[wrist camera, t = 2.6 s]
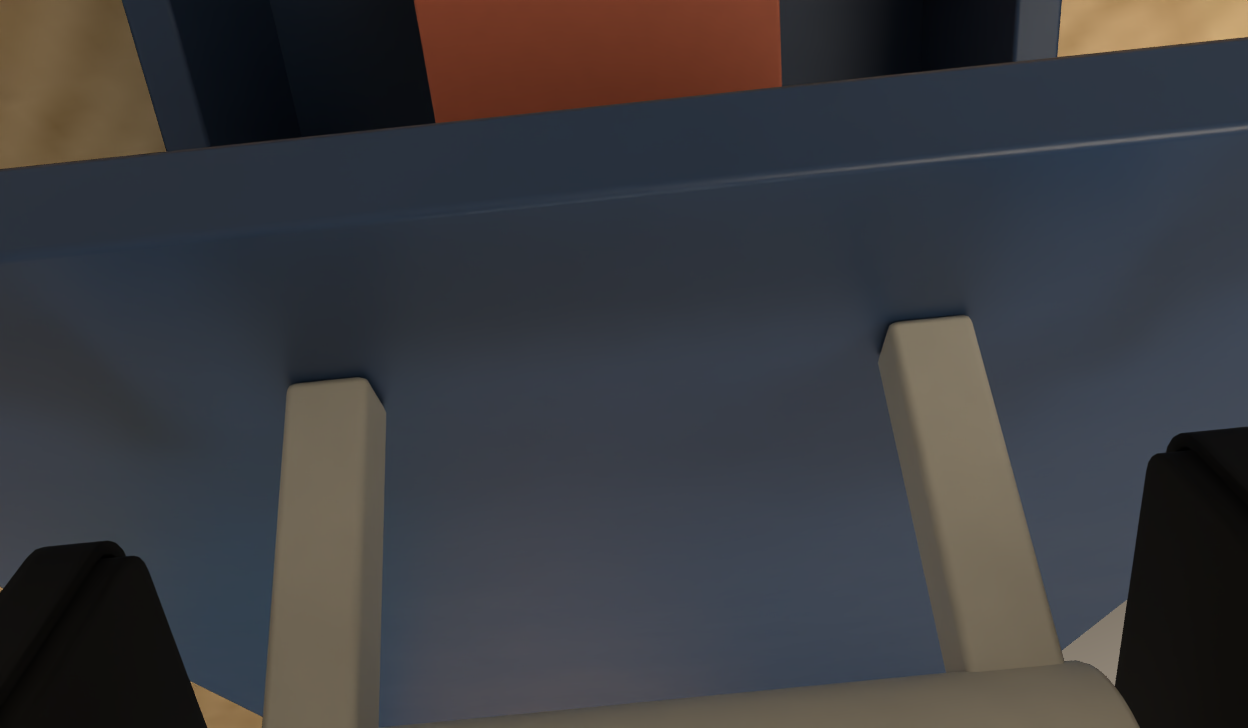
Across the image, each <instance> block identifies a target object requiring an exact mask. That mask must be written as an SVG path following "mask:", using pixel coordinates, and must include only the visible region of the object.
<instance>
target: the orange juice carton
mask: <svg viewBox="0 0 1248 728" xmlns="http://www.w3.org/2000/svg"><path fill="white" fill-rule="evenodd" d="M414 5H415V10H416V16H417V21H418V27H419V33H420V38H421V44H422V49H423V55H424V60H425V66H426V72H427V77H428V83H429V88H430V94H431V100H432V105H433V111H434V116H435V122H436V123H441V122H451V121H460V120H470V119H479V118H489V117H498V116H508V115H517V114H526V113H536V112H545V111H555V110H564V109H574V108H583V107H593V106H602V105H611V104H621V103H630V102H640V101H649V100H659V99H668V98H678V97H687V96H697V95H706V94H715V93H725V92H734V91H744V90H753V89H763V88H772V87H782V69H781V37H780V5H779V0H414Z"/></svg>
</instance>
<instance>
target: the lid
mask: <svg viewBox="0 0 1248 728" xmlns="http://www.w3.org/2000/svg"><path fill="white" fill-rule="evenodd" d="M1237 427H1248V37H1245V38H1235V39H1226V40H1216V41H1207V42H1197V43H1188V44H1178V45H1169V46H1160V47H1150V48H1141V49H1131V50H1122V51H1112V52H1103V53H1093V54H1084V55H1075V56H1065V57H1056V58H1046V59H1037V60H1027V61H1018V62H1008V63H999V64H989V65H980V66H971V67H961V68H952V69H942V70H933V71H923V72H914V73H904V74H895V75H886V76H876V77H867V78H857V79H848V80H838V81H829V82H819V83H810V84H800V85H791V86H782V87H772V88H763V89H753V90H744V91H734V92H725V93H715V94H706V95H697V96H687V97H678V98H668V99H659V100H649V101H640V102H630V103H621V104H611V105H602V106H593V107H583V108H574V109H564V110H555V111H545V112H536V113H526V114H517V115H508V116H498V117H489V118H479V119H470V120H460V121H451V122H441V123H432V124H422V125H413V126H404V127H394V128H385V129H375V130H366V131H356V132H347V133H337V134H328V135H319V136H309V137H300V138H290V139H281V140H271V141H262V142H252V143H243V144H233V145H224V146H215V147H205V148H196V149H186V150H177V151H167V152H158V153H148V154H139V155H130V156H120V157H111V158H101V159H92V160H82V161H73V162H63V163H54V164H44V165H35V166H26V167H16V168H7V169H0V587H2V588H4V587H5V586H6V584H7V583H8V582H9V580H10V579H11V578H12V576H13V575H14V574H15V573H16V571H17V570H18V569H19V567H20V566H21V565H22V563H23V562H24V561H25V559H26V558H27V557H28V556H29V555H30V554H31V553H32V552H33V551H34V550H35V549H39V548H42V547H47V546H57V545H67V544H77V543H87V542H97V541H107V540H108V541H112V542H115V543H117V544H118V545H119V546H120V547H121V548H122V549H123V550H124V552H125V554H126V556H133V555H134V556H137V557H140V558H141V559H142V560H143V561H144V562H145V564H146V566H147V568H148V570H149V573H150V575H151V578H152V581H153V583H154V586H155V589H156V591H157V594H158V597H159V599H160V602H161V605H162V607H163V610H164V613H165V616H166V618H167V621H168V624H169V626H170V629H171V632H172V634H173V637H174V640H175V642H176V645H177V648H178V651H179V653H180V656H181V659H182V661H183V664H184V667H185V669H186V672H187V675H188V677H189V680H190V681H191V682H193V683H195V684H197V685H199V686H201V687H203V688H205V689H207V690H209V691H211V692H213V693H216V694H218V695H220V696H222V697H224V698H226V699H228V700H230V701H232V702H234V703H236V704H238V705H240V706H242V707H244V708H246V709H248V710H250V711H252V712H254V713H256V714H258V715H260V716H262V717H263V722H262V728H1140V727H1139V725H1138V723H1137V721H1136V719H1135V717H1134V715H1133V714H1132V712H1131V710H1130V709H1129V707H1128V705H1127V703H1126V702H1125V700H1124V699H1123V697H1122V696H1121V694H1120V693H1119V691H1118V690H1117V689H1116V687H1115V686H1114V685H1113V684H1112V683H1111V681H1110V680H1109V679H1108V678H1107V677H1106V676H1105V675H1104V674H1103V673H1102V672H1100V671H1099V670H1098V669H1097V668H1095V667H1093V666H1092V665H1090V664H1087V663H1083V662H1080V661H1064V658H1063V655H1062V650H1063V649H1064V648H1066V647H1067V646H1068V645H1069V644H1071V643H1072V642H1073V641H1074V640H1076V639H1077V638H1078V637H1080V636H1081V635H1082V634H1083V633H1085V632H1086V631H1087V630H1089V629H1090V628H1091V627H1092V626H1094V625H1095V624H1096V623H1097V622H1099V621H1100V620H1101V619H1103V618H1104V617H1105V616H1106V615H1108V614H1109V613H1110V612H1111V611H1113V610H1114V609H1115V608H1117V607H1118V606H1119V605H1120V604H1122V603H1123V602H1124V601H1126V600H1127V599H1128V592H1129V585H1130V578H1131V572H1132V565H1133V558H1134V551H1135V544H1136V537H1137V530H1138V523H1139V516H1140V509H1141V502H1142V495H1143V488H1144V482H1145V475H1146V469H1147V465H1148V462H1149V460H1150V459H1151V457H1152V456H1153V455H1155V454H1157V453H1166V450H1167V446H1168V444H1169V443H1170V441H1171V440H1172V438H1173V437H1174V436H1176V435H1178V434H1180V433H1187V432H1197V431H1207V430H1217V429H1227V428H1237Z"/></svg>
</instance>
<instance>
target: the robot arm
mask: <svg viewBox="0 0 1248 728" xmlns="http://www.w3.org/2000/svg"><path fill="white" fill-rule="evenodd" d="M1115 687H1116V689H1117V690H1118V691H1119V693H1120V694H1121V696H1122V697H1123V699H1124V700H1125V702H1126V703H1127V705H1128V707H1129V709H1130V710H1131V712H1132V714H1133V715H1134V717H1135V719H1136V721H1137V723H1138V725H1139V727H1140V728H1248V427H1237V428H1227V429H1217V430H1207V431H1197V432H1187V433H1180V434H1178V435H1176V436H1174V437H1173V438H1172V440H1171V441H1170V443H1169V444H1168V446H1167V450H1166V453H1157V454H1155V455H1153V456H1152V457H1151V459H1150V460H1149V462H1148V465H1147V469H1146V475H1145V482H1144V488H1143V495H1142V502H1141V509H1140V516H1139V523H1138V530H1137V537H1136V544H1135V551H1134V558H1133V565H1132V572H1131V578H1130V585H1129V592H1128V599H1127V606H1126V613H1125V620H1124V628H1123V634H1122V641H1121V648H1120V655H1119V662H1118V669H1117V675H1116V683H1115ZM0 728H207V726H206V723H205V720H204V718H203V715H202V712H201V710H200V707H199V704H198V702H197V699H196V696H195V694H194V691H193V688H192V686H191V683H190V680H189V677H188V675H187V672H186V669H185V667H184V664H183V661H182V659H181V656H180V653H179V651H178V648H177V645H176V642H175V640H174V637H173V634H172V632H171V629H170V626H169V624H168V621H167V618H166V616H165V613H164V610H163V607H162V605H161V602H160V599H159V597H158V594H157V591H156V589H155V586H154V583H153V581H152V578H151V575H150V573H149V570H148V568H147V566H146V564H145V562H144V561H143V560H142V559H141V558H140V557H137V556H134V555H133V556H126V554H125V552H124V550H123V549H122V548H121V547H120V546H119V545H118V544H117V543H115V542H112V541H108V540H107V541H97V542H87V543H77V544H67V545H57V546H47V547H42V548H39V549H35V550H34V551H33V552H32V553H31V554H30V555H29V556H28V557H27V558H26V559H25V561H24V562H23V563H22V565H21V566H20V567H19V569H18V570H17V571H16V573H15V574H14V575H13V576H12V578H11V579H10V580H9V582H8V583H7V584H6V586H5V587H4V588H3V590H2V591H1V592H0Z"/></svg>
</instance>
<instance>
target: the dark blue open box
mask: <svg viewBox="0 0 1248 728" xmlns="http://www.w3.org/2000/svg"><path fill="white" fill-rule="evenodd" d="M122 3H123V6H124V10H125V13H126V16H127V20H128V23H129V26H130V30H131V33H132V37H133V40H134V43H135V47H136V50H137V53H138V57H139V60H140V63H141V67H142V70H143V74H144V77H145V80H146V84H147V87H148V90H149V94H150V97H151V100H152V104H153V107H154V111H155V114H156V117H157V121H158V124H159V127H160V131H161V134H162V137H163V141H164V144H165V148H166V151H177V150H186V149H196V148H205V147H215V146H224V145H233V144H243V143H252V142H262V141H271V140H281V139H290V138H300V137H309V136H319V135H328V134H337V133H347V132H356V131H366V130H375V129H385V128H394V127H404V126H413V125H422V124H432V123H436V122H435V116H434V111H433V105H432V100H431V94H430V88H429V83H428V77H427V72H426V66H425V60H424V55H423V49H422V44H421V38H420V33H419V27H418V21H417V16H416V10H415V5H414V0H122ZM1061 4H1062V0H779V5H780V37H781V69H782V86H791V85H800V84H810V83H819V82H829V81H838V80H848V79H857V78H867V77H876V76H886V75H895V74H904V73H914V72H923V71H933V70H942V69H952V68H961V67H971V66H980V65H989V64H999V63H1008V62H1018V61H1027V60H1037V59H1046V58H1056V57H1057V52H1058V40H1059V28H1060V16H1061Z"/></svg>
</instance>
